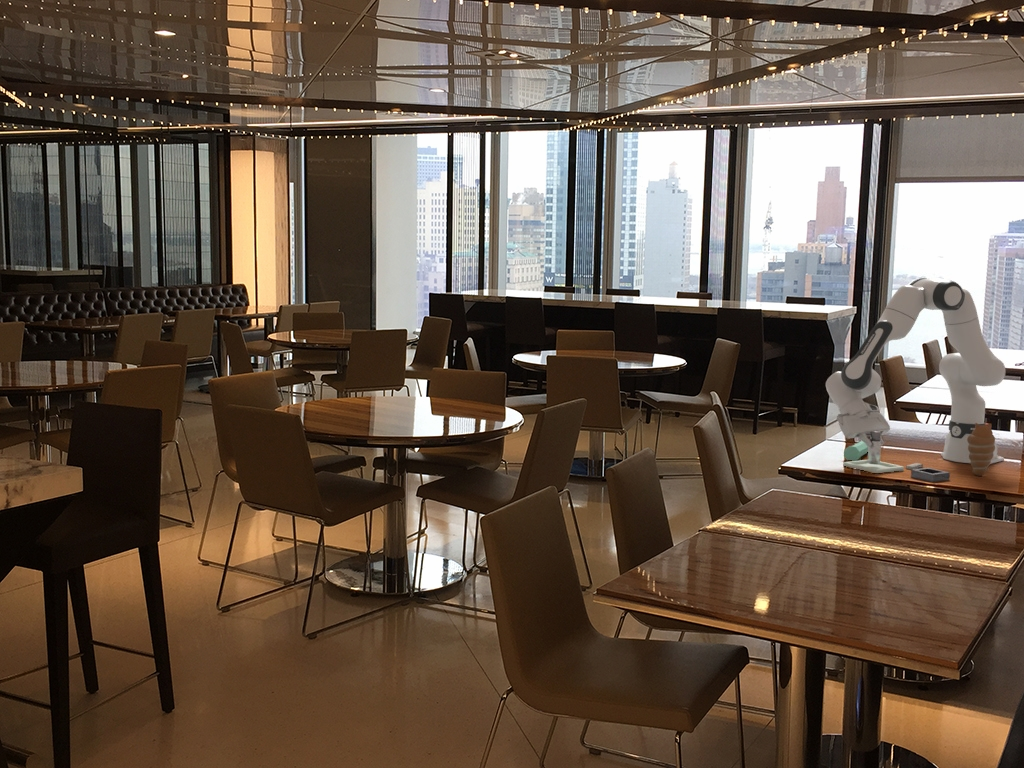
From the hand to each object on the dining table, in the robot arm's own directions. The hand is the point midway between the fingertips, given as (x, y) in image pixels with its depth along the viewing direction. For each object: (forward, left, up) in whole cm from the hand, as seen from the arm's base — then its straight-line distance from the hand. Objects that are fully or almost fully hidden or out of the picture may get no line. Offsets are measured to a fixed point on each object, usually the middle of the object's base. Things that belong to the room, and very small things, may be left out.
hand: (876, 445), depth 333 cm
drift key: (-15, +4, -9) cm, 18 cm away
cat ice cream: (-25, +22, -9) cm, 35 cm away
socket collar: (-5, +18, -8) cm, 21 cm away
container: (-15, -20, -9) cm, 26 cm away
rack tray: (0, -1, -8) cm, 8 cm away
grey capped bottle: (0, -1, -6) cm, 7 cm away
